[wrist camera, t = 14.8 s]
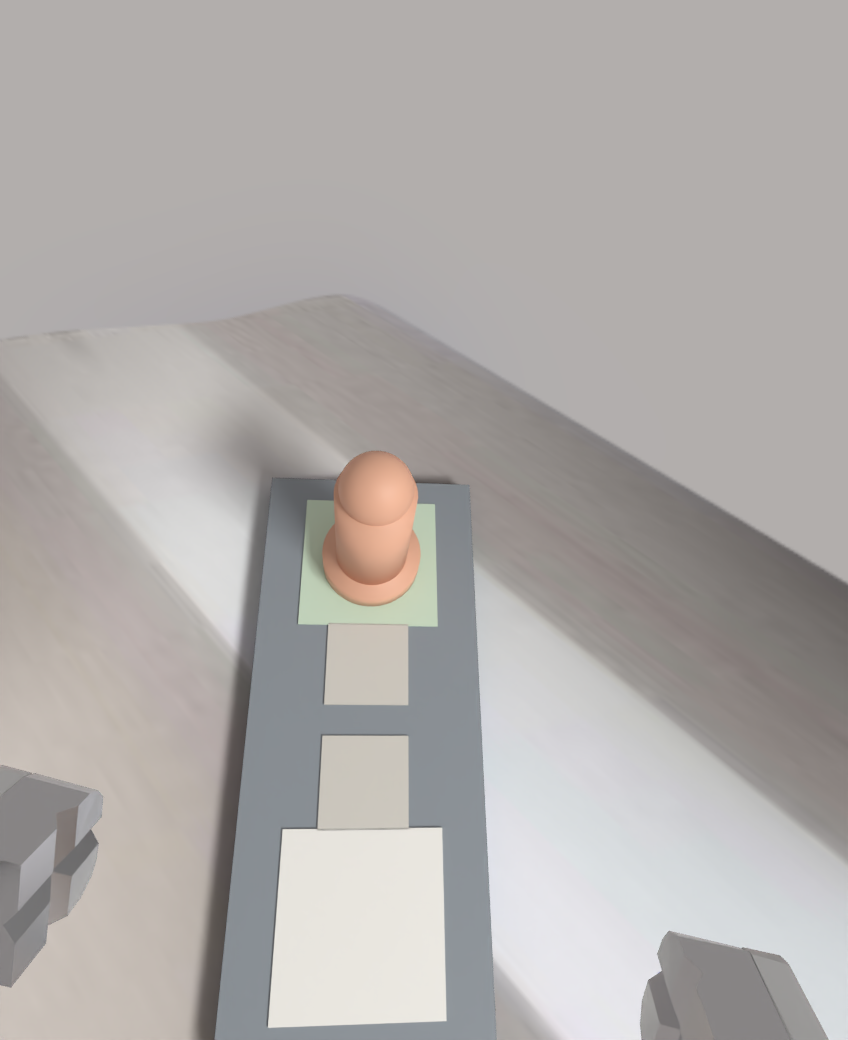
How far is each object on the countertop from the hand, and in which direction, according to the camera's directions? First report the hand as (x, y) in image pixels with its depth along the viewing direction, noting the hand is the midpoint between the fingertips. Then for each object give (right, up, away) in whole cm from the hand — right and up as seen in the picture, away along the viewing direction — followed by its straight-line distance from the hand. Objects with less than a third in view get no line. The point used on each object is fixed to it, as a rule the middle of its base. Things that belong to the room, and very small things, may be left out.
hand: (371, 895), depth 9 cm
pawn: (-2, +3, +26) cm, 26 cm away
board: (-2, -5, +23) cm, 24 cm away
